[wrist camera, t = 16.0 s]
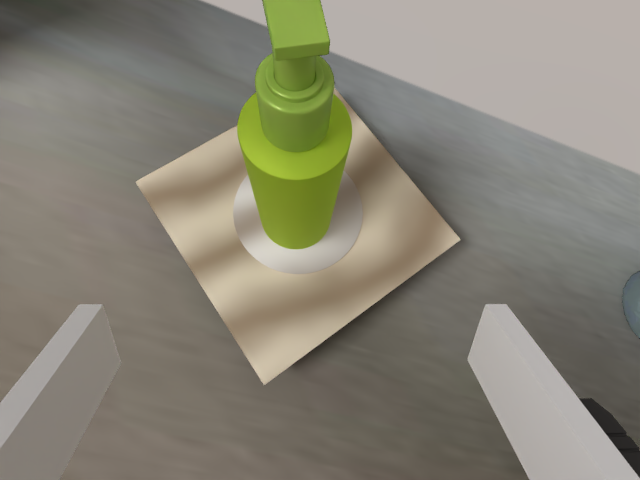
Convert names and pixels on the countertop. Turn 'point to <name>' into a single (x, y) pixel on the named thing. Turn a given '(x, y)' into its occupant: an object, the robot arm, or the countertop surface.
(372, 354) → the countertop surface
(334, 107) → the soap dispenser
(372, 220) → the stand
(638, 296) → the blue-grey cup
